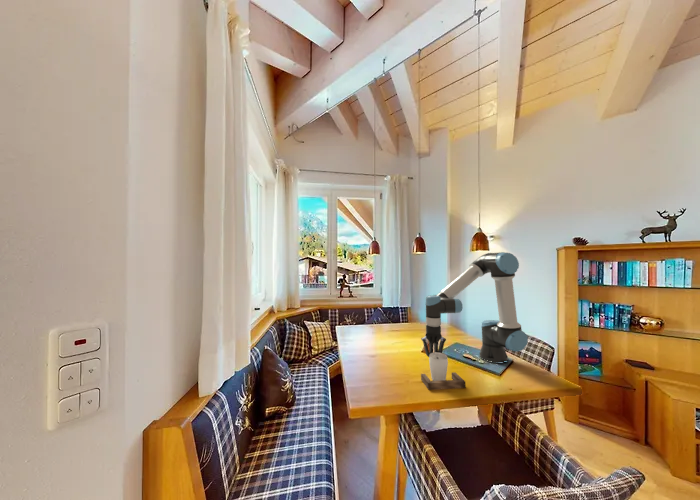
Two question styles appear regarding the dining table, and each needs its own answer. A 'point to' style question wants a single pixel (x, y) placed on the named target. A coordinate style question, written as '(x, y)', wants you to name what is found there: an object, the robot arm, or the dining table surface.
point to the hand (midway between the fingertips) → (433, 369)
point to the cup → (438, 366)
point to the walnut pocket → (444, 382)
